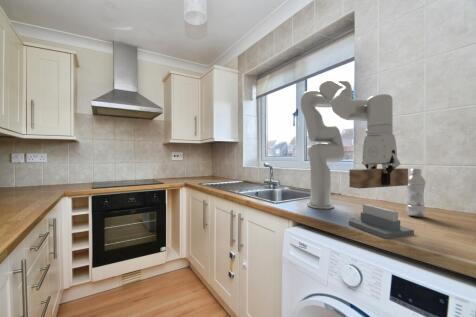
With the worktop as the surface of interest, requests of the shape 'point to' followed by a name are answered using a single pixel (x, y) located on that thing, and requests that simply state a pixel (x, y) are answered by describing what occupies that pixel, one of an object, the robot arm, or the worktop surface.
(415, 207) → the plastic bottle
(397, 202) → the worktop surface
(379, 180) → the brown wooden block
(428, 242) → the worktop surface
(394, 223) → the ridge stand
